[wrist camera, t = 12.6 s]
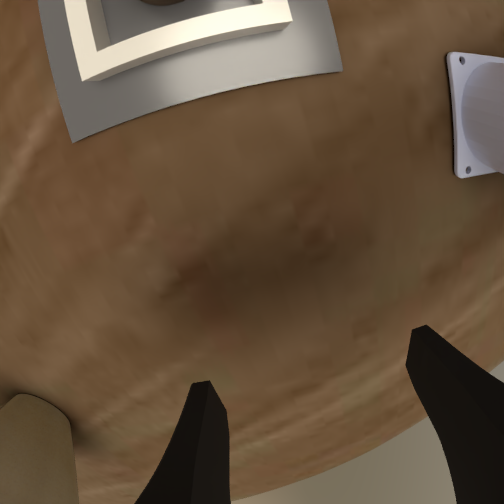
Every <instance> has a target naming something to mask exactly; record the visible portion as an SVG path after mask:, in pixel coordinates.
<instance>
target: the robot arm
mask: <svg viewBox="0 0 504 504" xmlns="http://www.w3.org/2000/svg"><path fill="white" fill-rule="evenodd" d="M459 58H461V63H460V61H459ZM447 65H448V72H449V80H450V88H451V98H452V110H453V126H454V171H455V174H456V176H458V177H459V178H467V177H472V176H477V175H483V174H488V173H494V172H500V173H502V174H504V58H500V57H493V56H486V55H479V54H470V53H460V52H449V53H448V54H447ZM467 167H468V169H467V171H466V168H467ZM406 368H407V371H408V373H409V376H410V379H411V381H412V384H413V386H414V389H415V391H416V393H417V395H418V397H419V399H420V401H421V403H422V404H423V406H424V408H425V410H426V412H427V414H428V416H429V418H430V420H431V422H432V424H433V426H434V428H435V430H436V432H437V434H438V436H439V439H440V441H441V444H442V447H443V450H444V453H445V456H446V459H447V463H448V466H449V470H450V474H451V477H452V482H453V486H454V491H455V496H456V501H457V504H504V383H503V382H501V381H500V380H498V379H497V378H495V377H494V376H492V375H491V374H489V373H488V372H486V371H485V370H484V369H482V368H481V367H479V366H478V365H477V364H475V363H474V362H473V361H471V360H470V359H469V358H467V357H466V356H465V355H464V354H462V353H461V352H460V351H458V350H457V349H456V348H455V347H454V346H452V345H451V344H450V343H449V342H447V341H446V340H445V339H444V338H442V337H441V336H440V335H439V334H438V333H436V332H435V331H434V330H433V329H431V328H430V327H429V326H428V325H424V326H421V327H418V328H415V329H413V330H412V333H411V338H410V344H409V350H408V355H407V360H406ZM134 504H231V501H230V488H229V428H228V420H227V412H226V409H225V407H224V405H223V404H222V402H221V400H220V398H219V396H218V395H217V393H216V391H215V389H214V387H213V386H212V384H211V382H210V381H203V382H197V383H193V384H192V385H191V387H190V390H189V393H188V396H187V399H186V402H185V405H184V408H183V411H182V413H181V416H180V419H179V421H178V424H177V426H176V428H175V431H174V433H173V436H172V438H171V440H170V443H169V445H168V447H167V449H166V451H165V453H164V455H163V457H162V459H161V461H160V463H159V465H158V467H157V469H156V471H155V472H154V474H153V476H152V478H151V479H150V481H149V483H148V484H147V486H146V487H145V489H144V490H143V492H142V493H141V495H140V496H139V498H138V499H137V501H136V502H135V503H134Z"/></svg>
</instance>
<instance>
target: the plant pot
mask: <svg viewBox="0 0 504 504" xmlns="http://www.w3.org/2000/svg"><path fill="white" fill-rule="evenodd" d="M0 504H79V496H78V485H77V475H76V466H75V457H74V449H73V441H72V434H71V427H70V422H69V420H68V419H67V417H66V416H65V415H64V414H63V413H62V412H61V411H60V410H58V409H57V408H56V407H54V406H53V405H51V404H50V403H48V402H46V401H44V400H42V399H40V398H38V397H35V396H33V395H29V394H18V395H16V396H15V397H13V398H12V399H11V400H10V401H9V402H8V403H7V404H5V405H4V406H3V407H2V408H1V409H0Z"/></svg>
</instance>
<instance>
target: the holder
mask: <svg viewBox="0 0 504 504" xmlns="http://www.w3.org/2000/svg"><path fill="white" fill-rule="evenodd" d="M38 5H39V12H40V18H41V23H42V29H43V34H44V39H45V44H46V49H47V54H48V58H49V62H50V67H51V71H52V75H53V79H54V83H55V87H56V90H57V94H58V98H59V101H60V105H61V108H62V112H63V115H64V118H65V122H66V125H67V128H68V131H69V134H70V137H71V141H72V143H74V142H76V141H78V140H81V139H83V138H85V137H87V136H90V135H92V134H95V133H97V132H99V131H102V130H104V129H107V128H109V127H112V126H115V125H117V124H120V123H123V122H125V121H128V120H131V119H133V118H136V117H139V116H142V115H145V114H148V113H151V112H154V111H157V110H160V109H163V108H166V107H169V106H173V105H176V104H179V103H183V102H186V101H189V100H193V99H197V98H200V97H204V96H208V95H211V94H215V93H219V92H223V91H228V90H232V89H236V88H241V87H245V86H250V85H255V84H260V83H265V82H270V81H275V80H281V79H287V78H293V77H299V76H306V75H313V74H321V73H329V72H338V71H343V67H342V62H341V57H340V52H339V48H338V43H337V39H336V34H335V30H334V26H333V22H332V18H331V14H330V10H329V6H328V2H327V0H185V1H182V2H180V3H177V4H173V5H166V6H156V5H150V4H147V3H144V2H142V1H140V0H38Z"/></svg>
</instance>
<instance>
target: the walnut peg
mask: <svg viewBox="0 0 504 504" xmlns="http://www.w3.org/2000/svg"><path fill="white" fill-rule="evenodd" d="M140 1H142V2H144V3H147V4H150V5H156V6H166V5H173V4H177V3H180V2H182V1H185V0H140Z"/></svg>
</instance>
